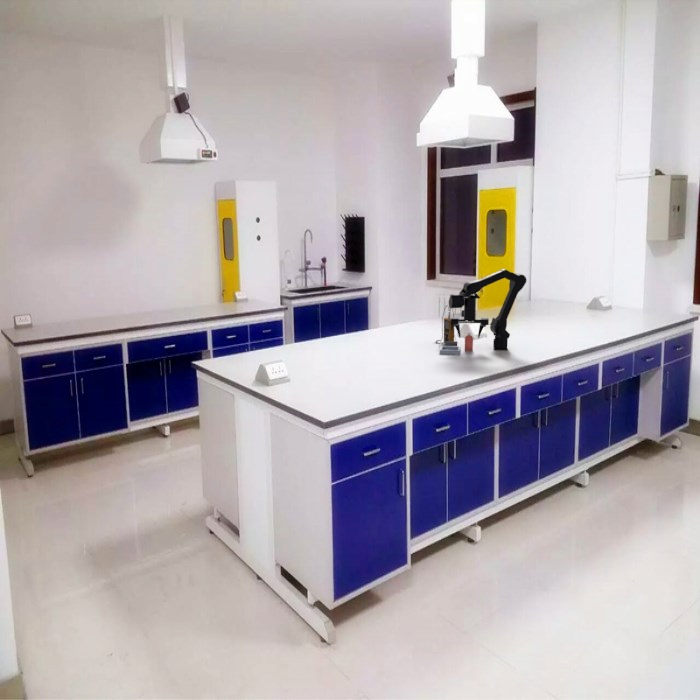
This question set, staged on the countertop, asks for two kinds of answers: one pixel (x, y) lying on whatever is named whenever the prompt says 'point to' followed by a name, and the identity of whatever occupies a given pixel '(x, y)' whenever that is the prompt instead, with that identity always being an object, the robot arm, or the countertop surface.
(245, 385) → the countertop surface
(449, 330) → the multimeter
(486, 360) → the countertop surface
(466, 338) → the red rounded cylinder
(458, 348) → the tray
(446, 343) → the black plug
